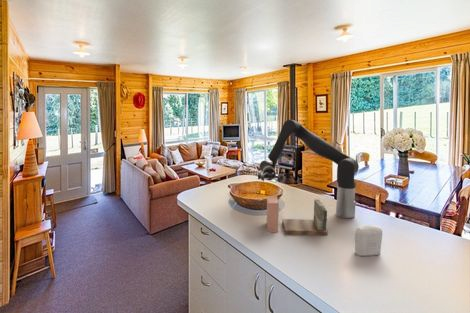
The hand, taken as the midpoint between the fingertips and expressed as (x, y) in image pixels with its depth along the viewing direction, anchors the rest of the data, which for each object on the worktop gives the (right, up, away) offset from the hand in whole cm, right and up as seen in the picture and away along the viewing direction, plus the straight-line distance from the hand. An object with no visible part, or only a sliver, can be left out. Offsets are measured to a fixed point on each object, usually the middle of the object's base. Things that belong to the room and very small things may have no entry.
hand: (271, 179), depth 145 cm
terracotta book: (-1, -24, -9) cm, 26 cm away
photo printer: (+36, -28, -35) cm, 58 cm away
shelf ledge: (+15, -24, -11) cm, 31 cm away
